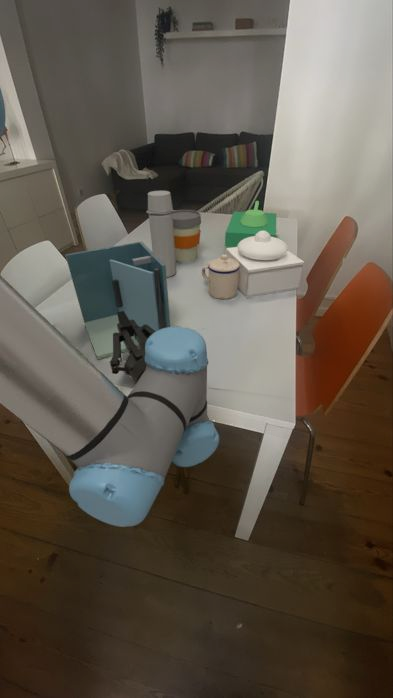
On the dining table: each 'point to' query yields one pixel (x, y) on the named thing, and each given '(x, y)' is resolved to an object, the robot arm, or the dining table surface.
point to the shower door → (135, 293)
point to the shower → (98, 292)
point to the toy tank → (249, 225)
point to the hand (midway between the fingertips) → (121, 316)
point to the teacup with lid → (222, 277)
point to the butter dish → (265, 265)
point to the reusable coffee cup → (186, 234)
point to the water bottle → (162, 228)
